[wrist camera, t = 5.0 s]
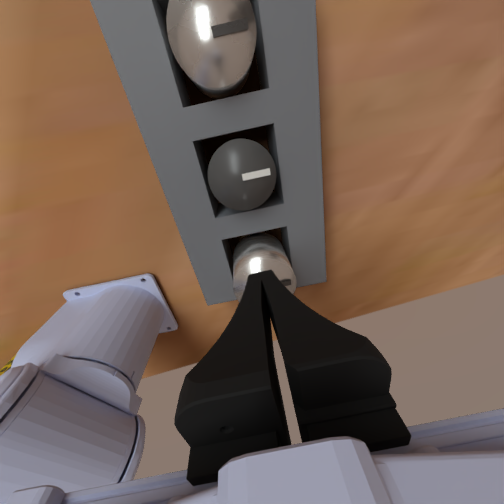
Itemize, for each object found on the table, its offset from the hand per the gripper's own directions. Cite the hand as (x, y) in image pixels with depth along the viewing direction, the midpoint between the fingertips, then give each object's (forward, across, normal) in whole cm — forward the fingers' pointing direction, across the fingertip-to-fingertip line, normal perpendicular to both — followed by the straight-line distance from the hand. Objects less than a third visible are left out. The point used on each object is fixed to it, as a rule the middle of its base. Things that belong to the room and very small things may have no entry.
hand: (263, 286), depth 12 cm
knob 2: (+7, 0, +2) cm, 7 cm away
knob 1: (+9, 0, -12) cm, 15 cm away
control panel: (+10, 0, -5) cm, 11 cm away
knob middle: (+9, 0, -5) cm, 11 cm away
